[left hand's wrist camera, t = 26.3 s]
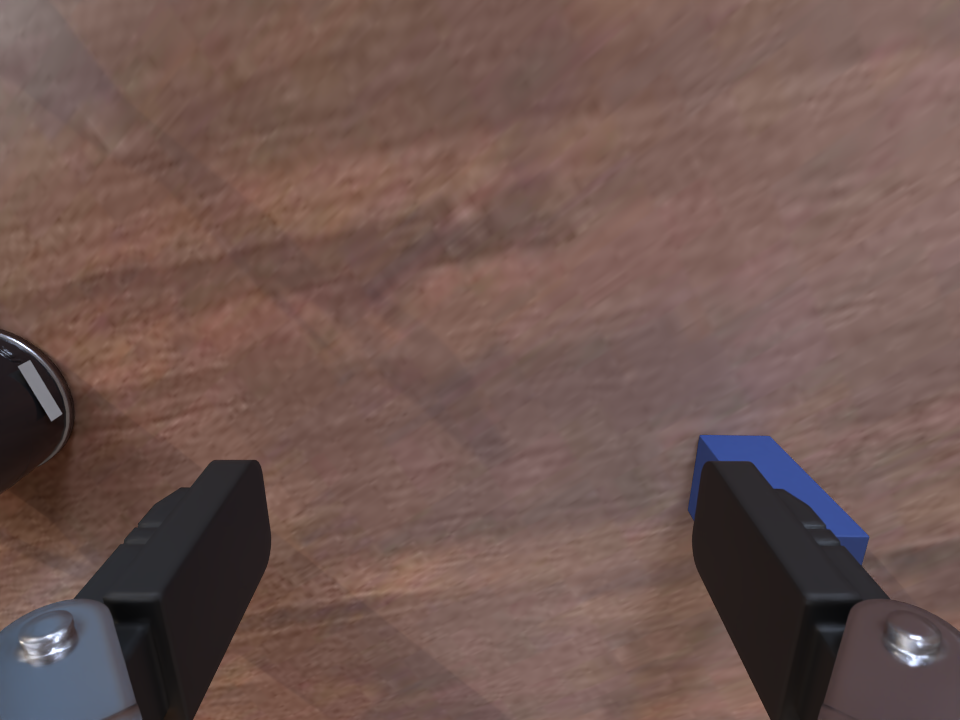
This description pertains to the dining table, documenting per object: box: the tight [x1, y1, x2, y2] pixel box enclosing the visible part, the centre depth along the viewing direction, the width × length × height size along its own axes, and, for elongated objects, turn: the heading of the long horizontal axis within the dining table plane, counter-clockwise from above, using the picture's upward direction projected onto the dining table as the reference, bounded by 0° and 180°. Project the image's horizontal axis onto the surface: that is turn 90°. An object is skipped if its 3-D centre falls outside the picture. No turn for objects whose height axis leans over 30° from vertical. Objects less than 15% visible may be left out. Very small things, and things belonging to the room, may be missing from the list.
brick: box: [688, 435, 869, 566], centre depth 36 cm, size 4×6×11 cm
